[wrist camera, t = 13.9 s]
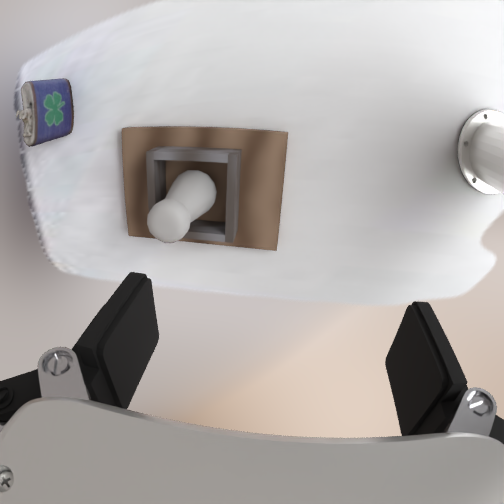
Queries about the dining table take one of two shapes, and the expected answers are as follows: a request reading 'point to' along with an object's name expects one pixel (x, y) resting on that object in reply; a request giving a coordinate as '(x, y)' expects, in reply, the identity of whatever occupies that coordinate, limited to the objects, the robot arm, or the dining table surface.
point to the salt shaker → (181, 206)
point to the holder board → (219, 170)
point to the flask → (46, 110)
